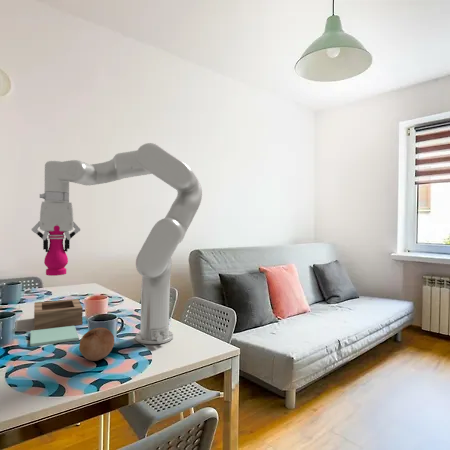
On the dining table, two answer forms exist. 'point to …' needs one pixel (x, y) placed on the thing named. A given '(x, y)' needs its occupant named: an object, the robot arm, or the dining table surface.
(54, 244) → the pepper mill
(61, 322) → the box
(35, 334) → the green mat
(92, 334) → the brown oval lump
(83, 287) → the dining table surface
